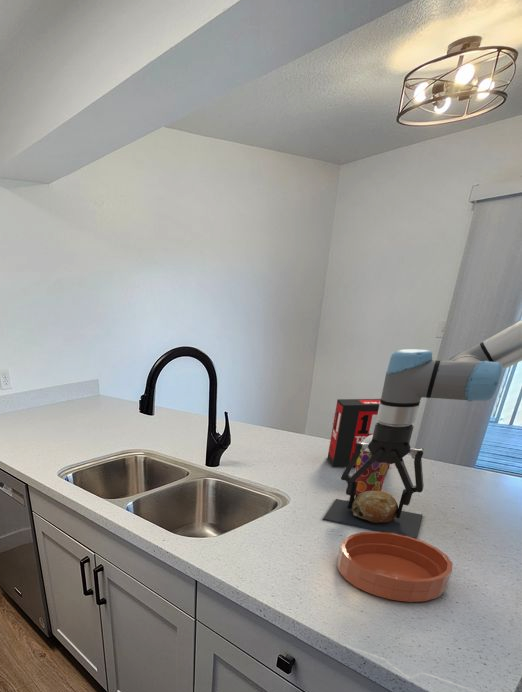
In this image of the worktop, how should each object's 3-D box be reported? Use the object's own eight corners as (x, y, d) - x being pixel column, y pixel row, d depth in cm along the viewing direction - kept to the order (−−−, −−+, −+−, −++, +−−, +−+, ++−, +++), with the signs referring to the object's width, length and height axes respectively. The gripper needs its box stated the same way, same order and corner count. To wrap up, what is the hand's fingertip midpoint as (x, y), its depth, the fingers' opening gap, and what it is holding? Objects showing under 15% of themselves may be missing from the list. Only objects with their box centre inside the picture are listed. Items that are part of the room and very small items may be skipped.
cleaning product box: (332, 467, 142) (343, 405, 133) (327, 458, 150) (337, 399, 141) (388, 468, 138) (404, 404, 129) (380, 459, 146) (394, 398, 137)
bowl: (447, 566, 89) (454, 545, 86) (441, 616, 76) (449, 593, 73) (347, 543, 99) (351, 524, 97) (327, 583, 86) (331, 562, 84)
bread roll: (344, 521, 113) (339, 499, 109) (374, 499, 114) (370, 475, 110) (378, 537, 105) (374, 514, 101) (409, 513, 106) (407, 489, 102)
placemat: (422, 515, 109) (422, 514, 109) (416, 539, 99) (416, 537, 99) (335, 500, 120) (336, 498, 120) (322, 519, 110) (323, 518, 110)
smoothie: (376, 488, 125) (392, 419, 116) (387, 500, 118) (405, 427, 109) (345, 488, 126) (359, 419, 117) (354, 499, 119) (369, 427, 110)
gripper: (456, 424, 95) (428, 515, 105) (344, 414, 107) (329, 497, 117) (455, 432, 90) (426, 527, 100) (337, 421, 102) (321, 507, 112)
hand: (373, 511), depth 108 cm, fingers closed on bread roll, 10 cm apart
